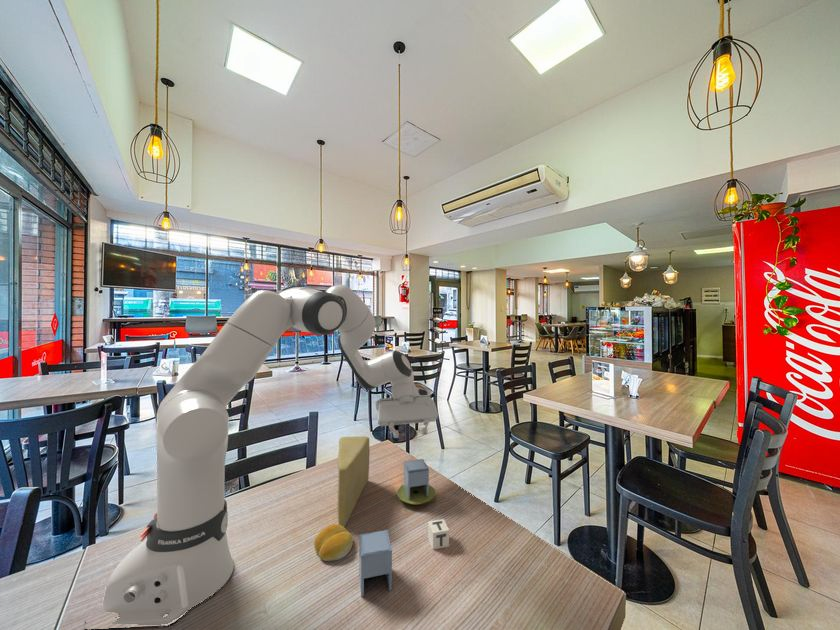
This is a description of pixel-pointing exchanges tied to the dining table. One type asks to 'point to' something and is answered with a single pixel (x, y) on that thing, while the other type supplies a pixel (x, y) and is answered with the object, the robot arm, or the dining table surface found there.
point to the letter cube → (438, 534)
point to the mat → (416, 495)
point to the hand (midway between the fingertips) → (410, 435)
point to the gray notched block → (375, 557)
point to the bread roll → (333, 542)
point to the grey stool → (416, 476)
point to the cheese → (351, 474)
